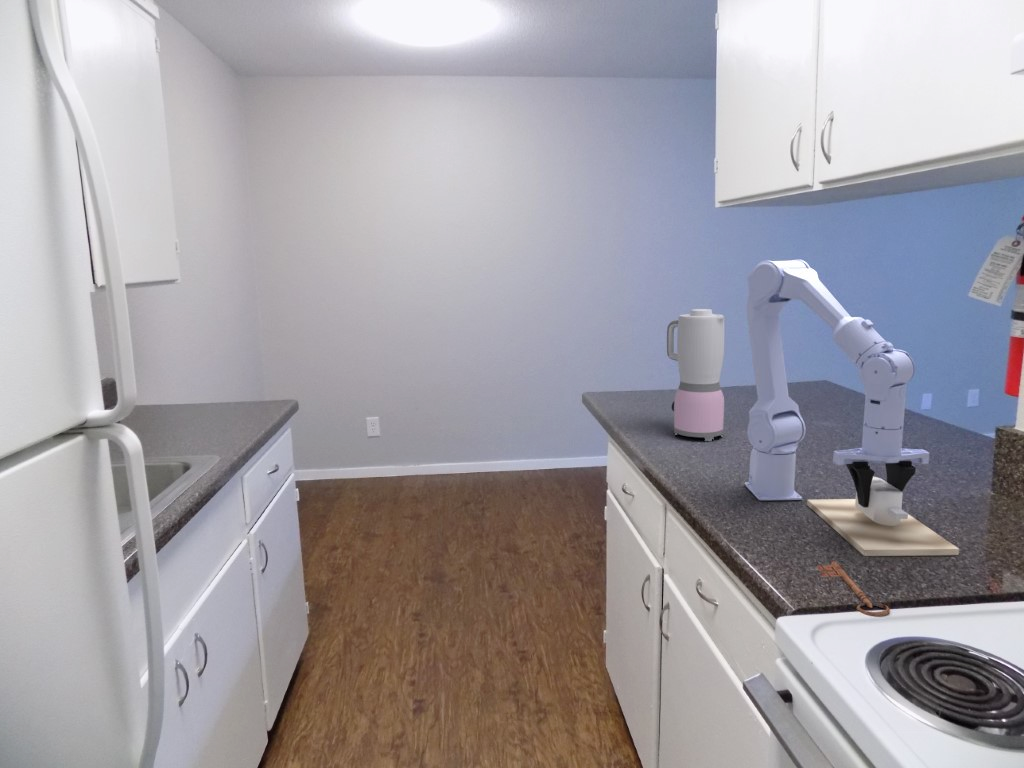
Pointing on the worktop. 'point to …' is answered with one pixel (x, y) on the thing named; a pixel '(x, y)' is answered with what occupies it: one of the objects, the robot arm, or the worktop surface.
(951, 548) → the pad
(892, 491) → the plug
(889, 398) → the robot arm
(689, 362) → the blender
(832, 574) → the key
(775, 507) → the worktop surface
